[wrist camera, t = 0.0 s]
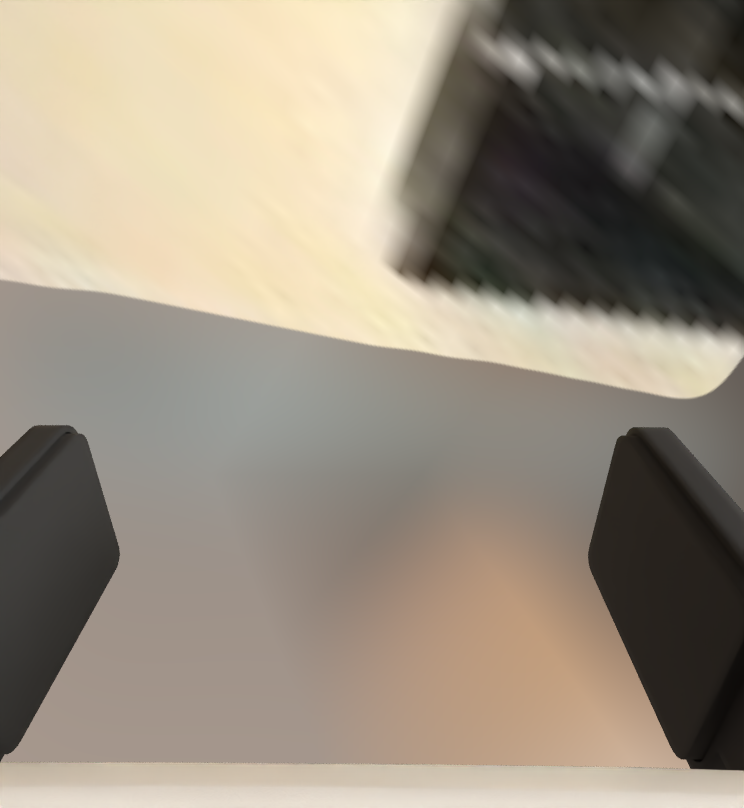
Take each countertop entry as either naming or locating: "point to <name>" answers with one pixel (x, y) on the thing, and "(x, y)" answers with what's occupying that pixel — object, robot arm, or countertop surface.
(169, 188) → the countertop surface
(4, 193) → the countertop surface
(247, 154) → the countertop surface
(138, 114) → the countertop surface
